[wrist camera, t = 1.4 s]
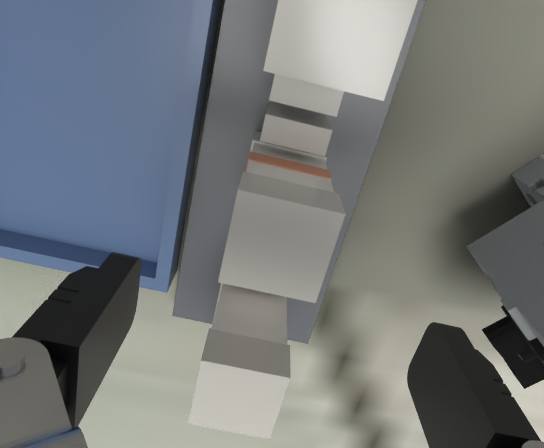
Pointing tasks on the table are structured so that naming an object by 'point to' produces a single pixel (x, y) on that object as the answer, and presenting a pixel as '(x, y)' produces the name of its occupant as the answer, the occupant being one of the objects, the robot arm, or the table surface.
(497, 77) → the table surface
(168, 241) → the tray
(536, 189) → the circuit breaker
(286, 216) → the block
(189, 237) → the fuse holder
